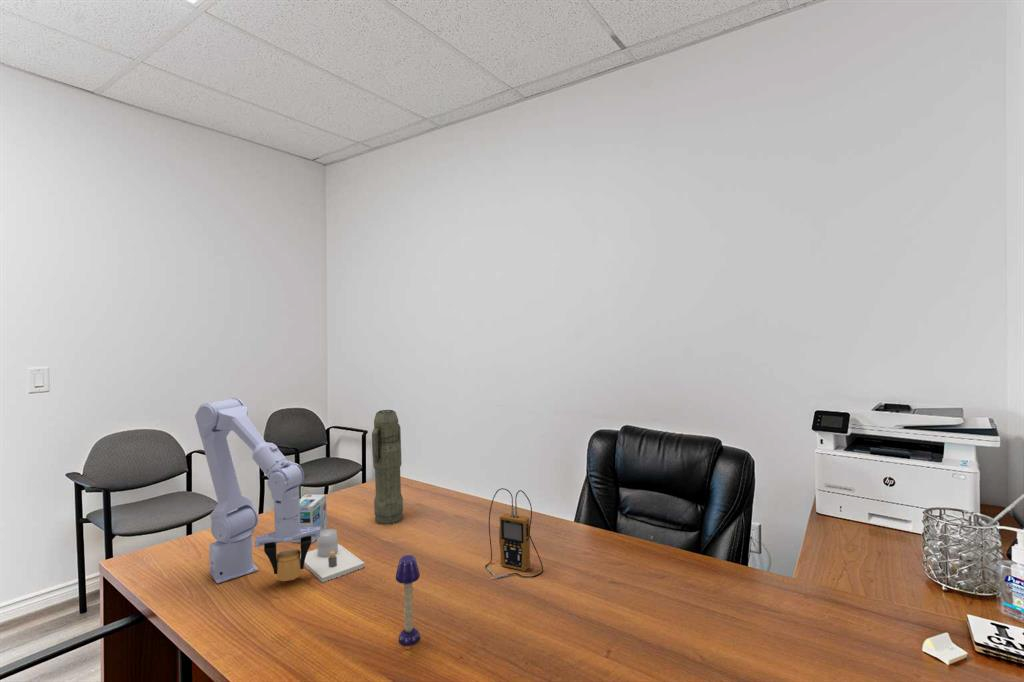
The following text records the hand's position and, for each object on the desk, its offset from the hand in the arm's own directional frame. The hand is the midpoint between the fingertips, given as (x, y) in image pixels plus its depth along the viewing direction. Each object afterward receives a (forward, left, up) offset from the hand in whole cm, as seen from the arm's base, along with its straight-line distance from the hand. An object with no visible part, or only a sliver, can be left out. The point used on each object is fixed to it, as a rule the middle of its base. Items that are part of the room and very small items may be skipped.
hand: (289, 569), depth 125 cm
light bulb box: (+14, +24, -3) cm, 28 cm away
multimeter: (+41, -35, -3) cm, 54 cm away
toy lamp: (+9, -41, -3) cm, 42 cm away
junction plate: (+11, +2, -3) cm, 12 cm away
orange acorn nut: (0, 0, -1) cm, 1 cm away
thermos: (+37, +18, -3) cm, 41 cm away
